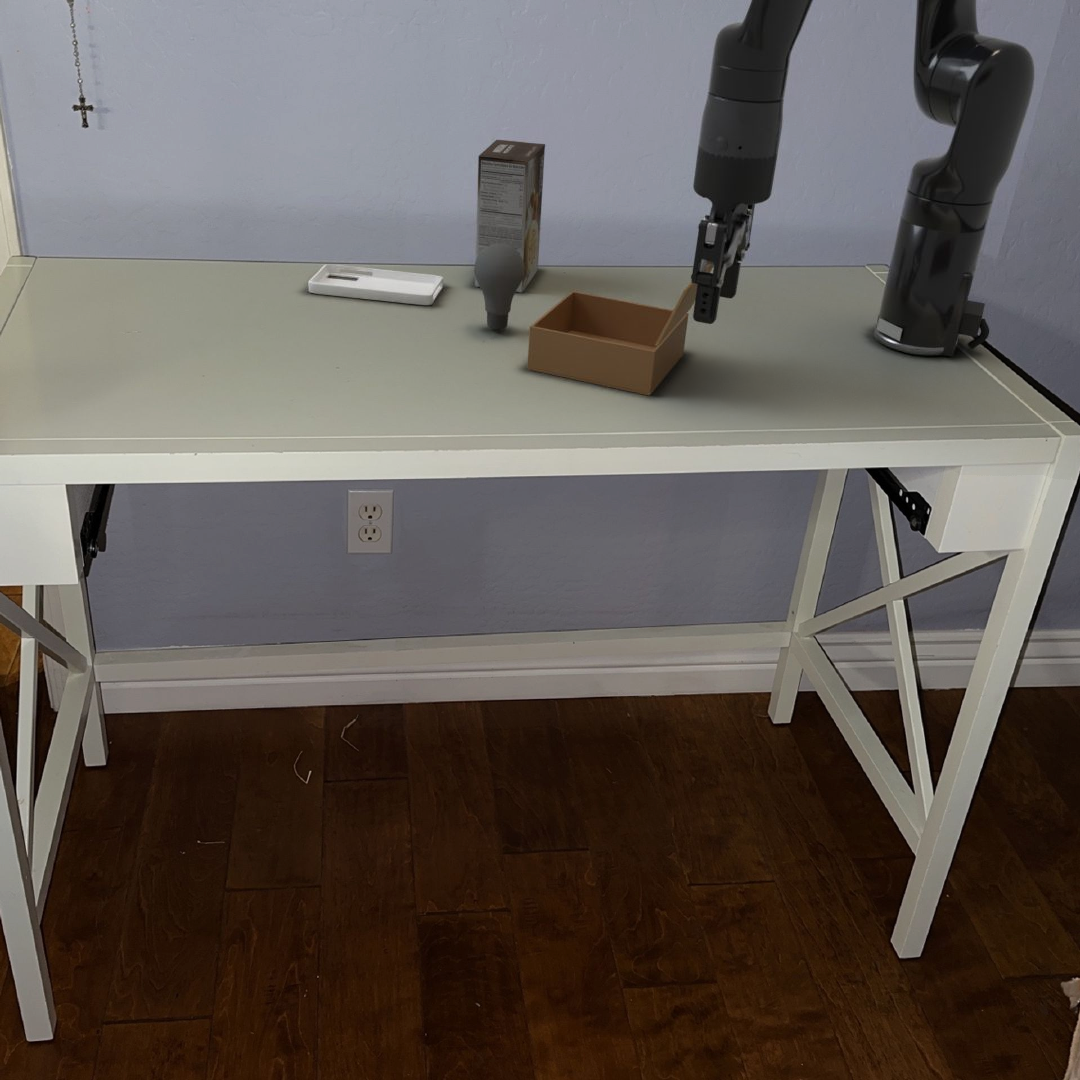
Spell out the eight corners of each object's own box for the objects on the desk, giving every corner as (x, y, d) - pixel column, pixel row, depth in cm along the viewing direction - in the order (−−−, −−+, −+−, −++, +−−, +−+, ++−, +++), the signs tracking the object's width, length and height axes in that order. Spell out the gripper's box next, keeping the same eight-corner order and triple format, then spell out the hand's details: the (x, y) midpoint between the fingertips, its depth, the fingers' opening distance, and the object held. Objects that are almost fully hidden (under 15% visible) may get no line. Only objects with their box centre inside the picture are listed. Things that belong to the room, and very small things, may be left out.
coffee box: (490, 264, 151) (495, 137, 143) (538, 270, 150) (546, 143, 142) (473, 287, 144) (477, 154, 135) (523, 293, 143) (531, 160, 134)
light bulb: (492, 344, 128) (495, 255, 123) (462, 328, 132) (464, 241, 127) (531, 334, 131) (536, 247, 126) (501, 319, 135) (505, 234, 130)
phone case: (307, 293, 138) (430, 306, 137) (306, 282, 138) (430, 295, 136) (325, 273, 145) (443, 286, 143) (325, 263, 144) (444, 275, 143)
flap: (688, 307, 126) (690, 308, 126) (654, 345, 116) (657, 346, 116) (716, 254, 122) (719, 255, 122) (684, 289, 112) (687, 290, 112)
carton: (683, 354, 129) (688, 313, 127) (649, 395, 119) (655, 352, 117) (569, 331, 133) (572, 290, 131) (527, 369, 123) (529, 326, 120)
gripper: (761, 166, 103) (734, 338, 112) (792, 136, 115) (765, 294, 123) (680, 154, 105) (659, 324, 114) (718, 126, 117) (696, 282, 125)
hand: (714, 308), depth 119 cm, fingers open, 8 cm apart
